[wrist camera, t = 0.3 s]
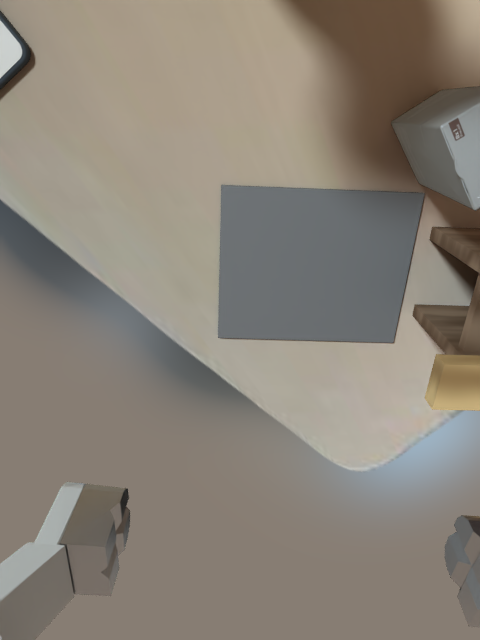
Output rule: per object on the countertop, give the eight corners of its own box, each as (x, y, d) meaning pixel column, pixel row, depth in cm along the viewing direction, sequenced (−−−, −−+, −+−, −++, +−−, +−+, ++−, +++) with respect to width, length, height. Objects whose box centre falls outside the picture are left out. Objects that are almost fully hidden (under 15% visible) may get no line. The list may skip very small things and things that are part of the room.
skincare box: (468, 154, 52) (559, 172, 38) (410, 188, 53) (476, 218, 39) (442, 83, 49) (529, 74, 34) (381, 121, 50) (441, 127, 36)
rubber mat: (221, 185, 53) (221, 185, 52) (423, 192, 54) (424, 193, 53) (218, 336, 61) (218, 337, 61) (392, 341, 62) (393, 342, 62)
